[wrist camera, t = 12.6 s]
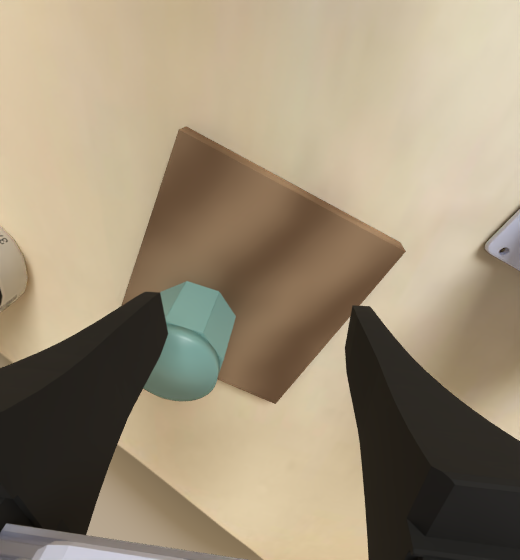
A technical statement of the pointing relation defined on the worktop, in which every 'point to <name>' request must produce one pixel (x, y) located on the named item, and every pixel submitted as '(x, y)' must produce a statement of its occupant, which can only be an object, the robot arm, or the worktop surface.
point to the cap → (191, 342)
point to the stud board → (258, 259)
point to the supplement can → (11, 271)
